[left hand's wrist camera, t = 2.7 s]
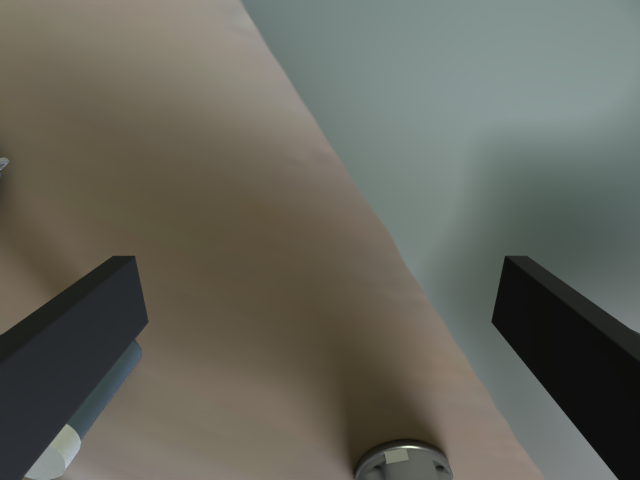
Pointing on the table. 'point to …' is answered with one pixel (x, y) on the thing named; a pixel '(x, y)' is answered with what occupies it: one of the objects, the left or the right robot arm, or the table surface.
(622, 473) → the left robot arm
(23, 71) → the table surface
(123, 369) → the bottle
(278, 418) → the table surface
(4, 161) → the spray gun
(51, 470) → the lid
